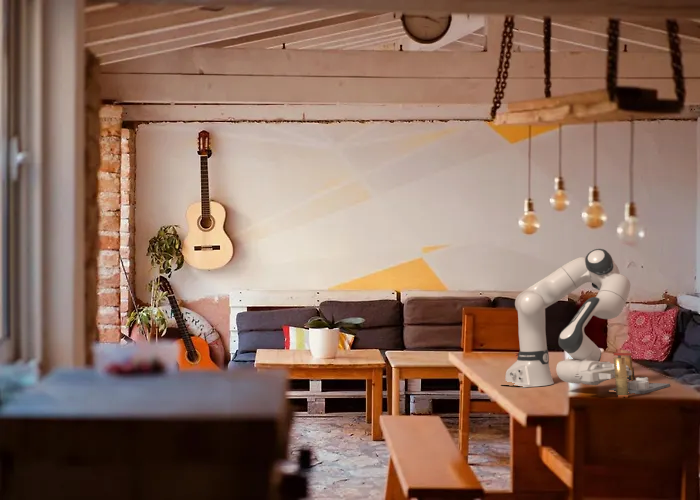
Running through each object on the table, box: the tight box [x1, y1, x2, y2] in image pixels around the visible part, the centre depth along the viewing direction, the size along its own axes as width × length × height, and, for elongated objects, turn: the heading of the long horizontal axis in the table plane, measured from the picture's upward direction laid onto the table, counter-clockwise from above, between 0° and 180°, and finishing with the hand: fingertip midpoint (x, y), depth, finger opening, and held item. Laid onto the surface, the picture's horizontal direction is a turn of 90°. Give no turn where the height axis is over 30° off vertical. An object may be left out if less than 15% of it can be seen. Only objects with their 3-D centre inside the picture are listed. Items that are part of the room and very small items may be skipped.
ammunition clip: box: [619, 349, 636, 381], centre depth 351 cm, size 11×2×12 cm, turn 2°
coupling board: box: [608, 376, 671, 395], centre depth 320 cm, size 14×20×4 cm
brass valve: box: [613, 352, 633, 396], centre depth 303 cm, size 7×4×16 cm, turn 42°
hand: (621, 374), depth 304 cm, fingers open, 8 cm apart
